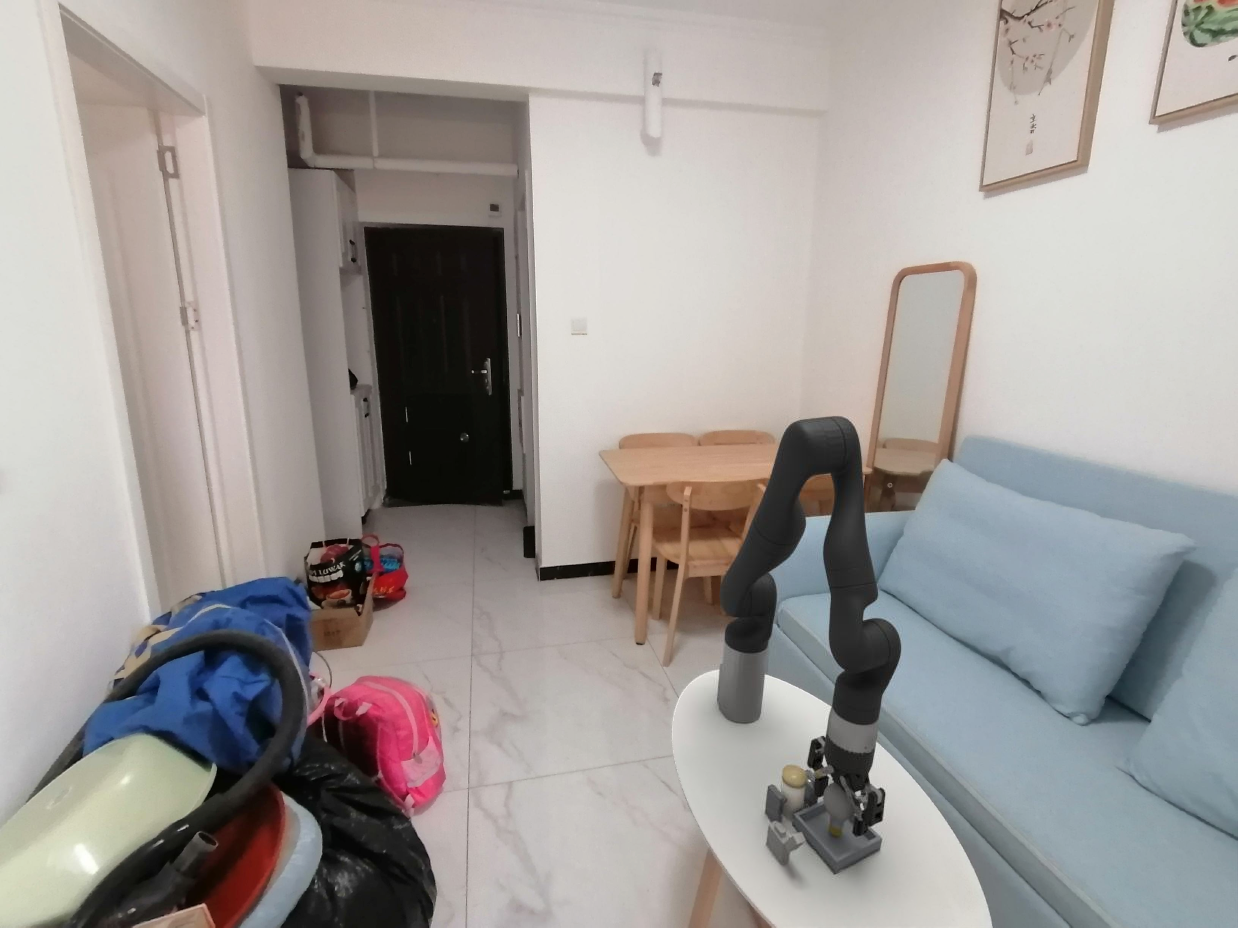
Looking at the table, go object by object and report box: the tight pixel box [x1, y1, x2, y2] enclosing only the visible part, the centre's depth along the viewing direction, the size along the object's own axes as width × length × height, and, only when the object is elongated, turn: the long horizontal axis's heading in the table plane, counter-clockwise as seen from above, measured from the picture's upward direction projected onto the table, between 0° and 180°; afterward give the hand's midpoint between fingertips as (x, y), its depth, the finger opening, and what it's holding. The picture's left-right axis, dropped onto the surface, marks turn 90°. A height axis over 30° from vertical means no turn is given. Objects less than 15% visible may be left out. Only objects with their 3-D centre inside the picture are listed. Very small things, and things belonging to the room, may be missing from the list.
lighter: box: [765, 821, 806, 865], centre depth 98 cm, size 7×2×8 cm, turn 23°
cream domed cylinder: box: [780, 764, 807, 821], centre depth 107 cm, size 4×4×8 cm
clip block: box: [764, 768, 819, 824], centre depth 109 cm, size 3×17×6 cm, turn 116°
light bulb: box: [822, 781, 857, 836], centre depth 102 cm, size 6×6×10 cm
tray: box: [791, 800, 883, 875], centre depth 103 cm, size 10×10×2 cm
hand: (838, 813), depth 102 cm, fingers open, 8 cm apart
